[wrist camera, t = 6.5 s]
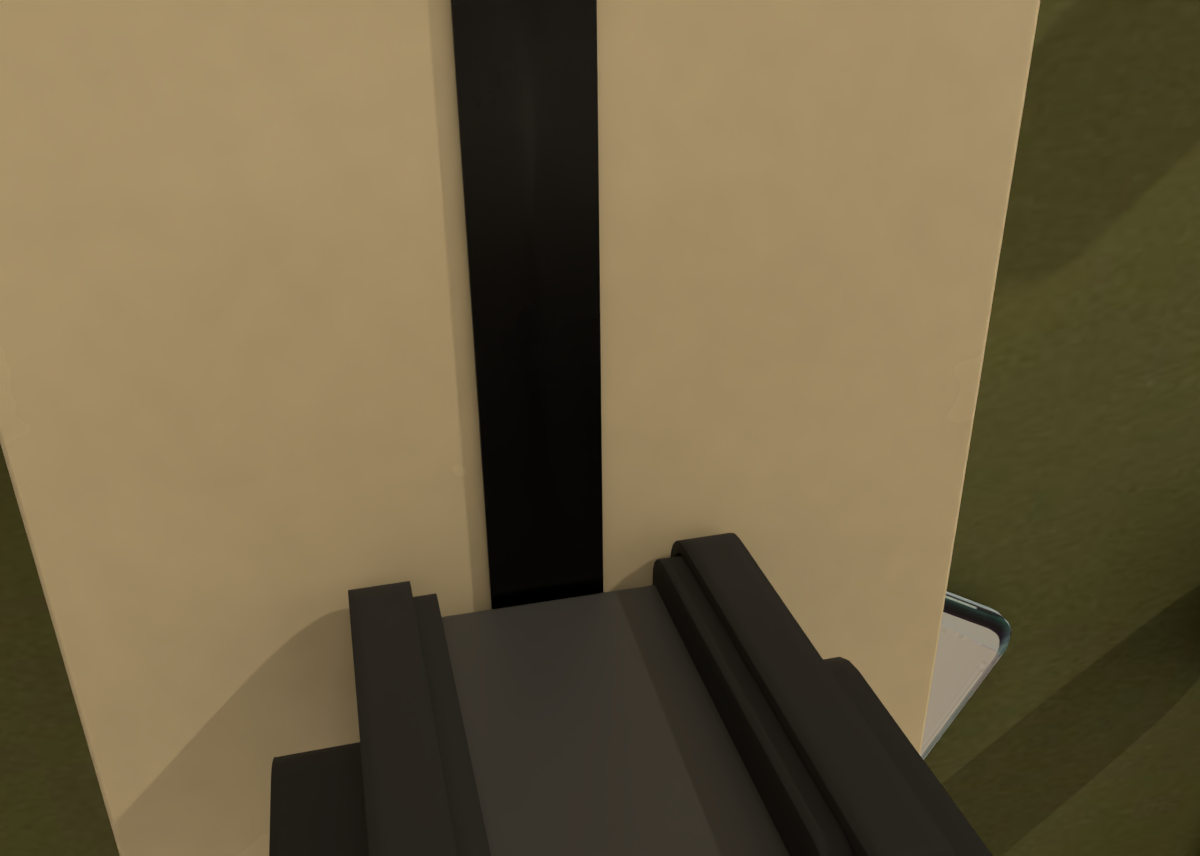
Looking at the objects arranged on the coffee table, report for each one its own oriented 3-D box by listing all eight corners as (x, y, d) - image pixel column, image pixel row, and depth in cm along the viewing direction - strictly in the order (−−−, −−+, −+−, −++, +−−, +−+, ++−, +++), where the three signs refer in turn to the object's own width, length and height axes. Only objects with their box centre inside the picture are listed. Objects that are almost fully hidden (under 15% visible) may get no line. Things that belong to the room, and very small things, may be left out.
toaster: (-33, -605, 11) (-549, -1325, 4) (732, -556, 13) (1229, -1023, 6) (195, 507, 17) (127, 941, 10) (698, 443, 19) (929, 783, 12)
